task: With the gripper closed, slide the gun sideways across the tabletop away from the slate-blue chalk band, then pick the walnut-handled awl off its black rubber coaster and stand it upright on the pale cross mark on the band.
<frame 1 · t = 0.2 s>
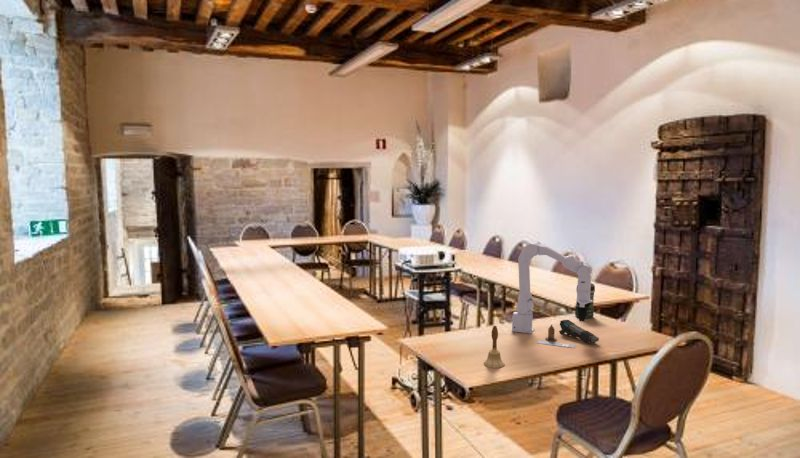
hand: (582, 319, 244), 10 cm above the table, tool pointing down, fingers open, 7 cm apart
awl: (551, 339, 244), resting on coaster
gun: (577, 339, 246), on the table
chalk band: (555, 344, 238), on the table
hand bell: (494, 364, 212), on the table
coffee jar: (584, 317, 285), on the table
coaster: (551, 339, 244), on the table
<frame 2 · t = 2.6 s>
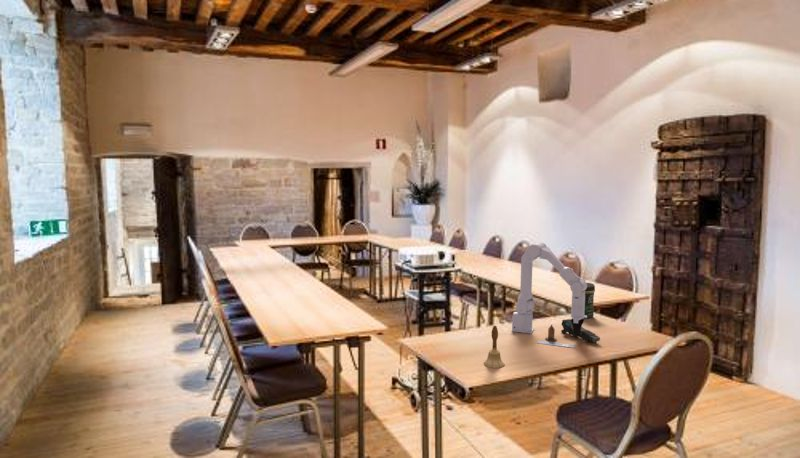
hand: (576, 334, 243), 3 cm above the table, tool pointing down, fingers closed
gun: (579, 339, 247), on the table, touching gripper
everything else where it was.
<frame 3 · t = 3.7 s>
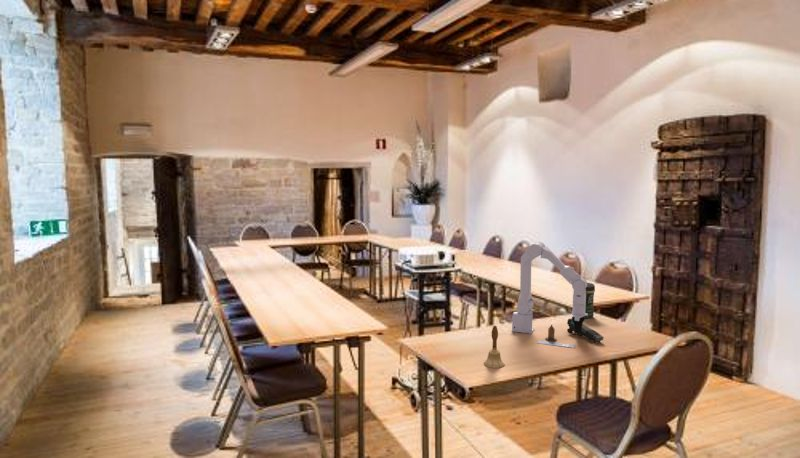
hand: (577, 332, 247), 3 cm above the table, tool pointing down, fingers closed
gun: (583, 338, 249), on the table
everything else where it was.
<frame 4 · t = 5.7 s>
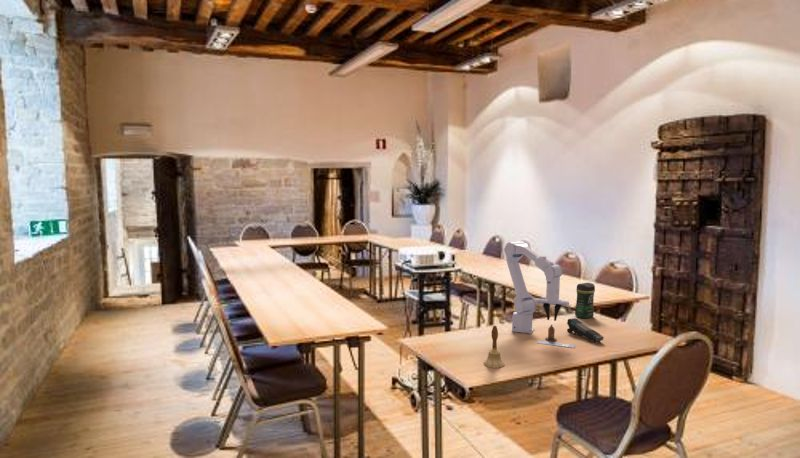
hand: (551, 319, 244), 9 cm above the table, tool pointing down, fingers closed
nothing on the table moved.
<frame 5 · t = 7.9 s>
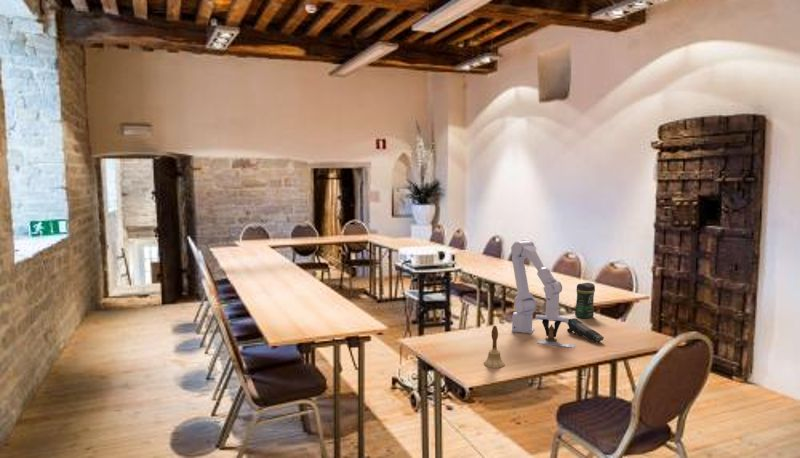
hand: (551, 336, 244), 2 cm above the table, tool pointing down, fingers closed on awl, 3 cm apart
awl: (551, 339, 244), resting on coaster, touching gripper
everything else where it was.
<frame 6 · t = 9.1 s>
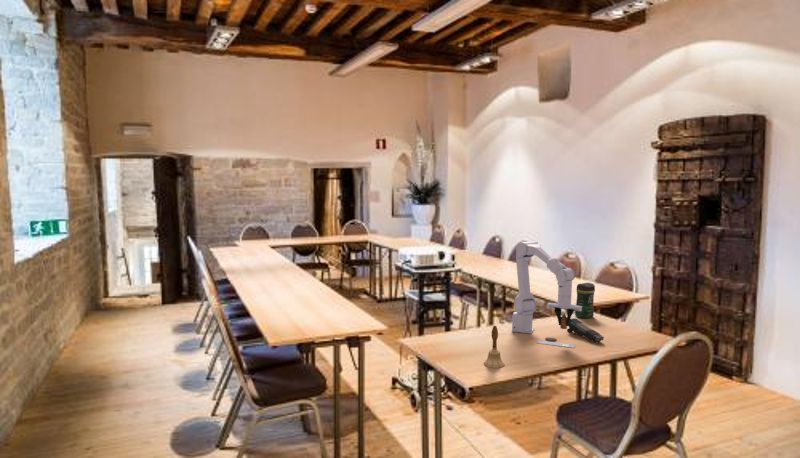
hand: (563, 325, 237), 9 cm above the table, tool pointing down, fingers closed on awl, 3 cm apart
awl: (563, 328, 237), point 8 cm above the table, touching gripper
everything else where it was.
when the fingers open (2 cm above the table, at t = 10.8 s): awl stays where it is, resting on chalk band.
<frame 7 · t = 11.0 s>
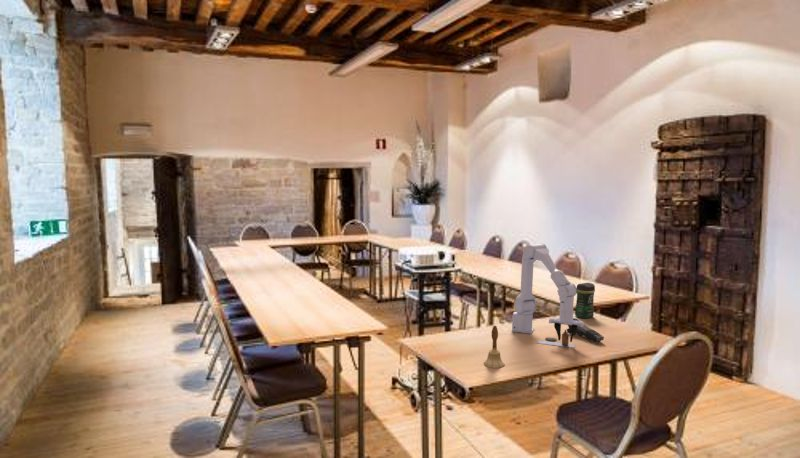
hand: (565, 340, 236), 2 cm above the table, tool pointing down, fingers open, 4 cm apart
awl: (565, 345, 236), resting on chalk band
everything else where it was.
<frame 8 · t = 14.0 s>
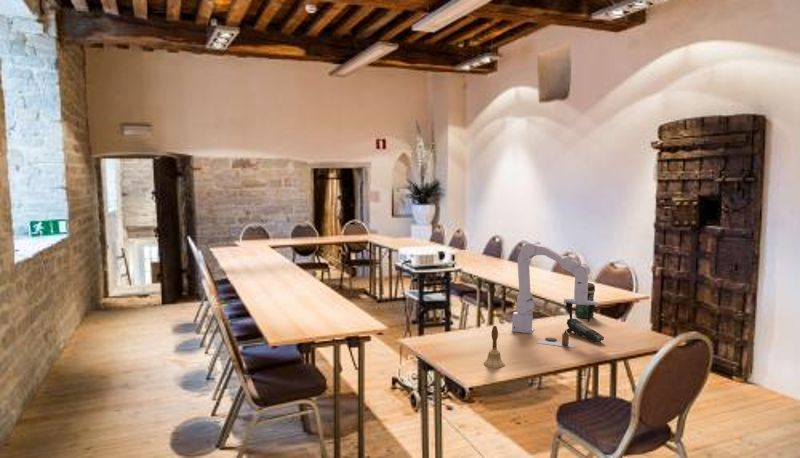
hand: (579, 320, 241), 10 cm above the table, tool pointing down, fingers open, 7 cm apart
nothing on the table moved.
at the end: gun moved 4.2 cm from its start; awl 0.0 cm from the target spot, resting on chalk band; awl tilted 0° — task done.
